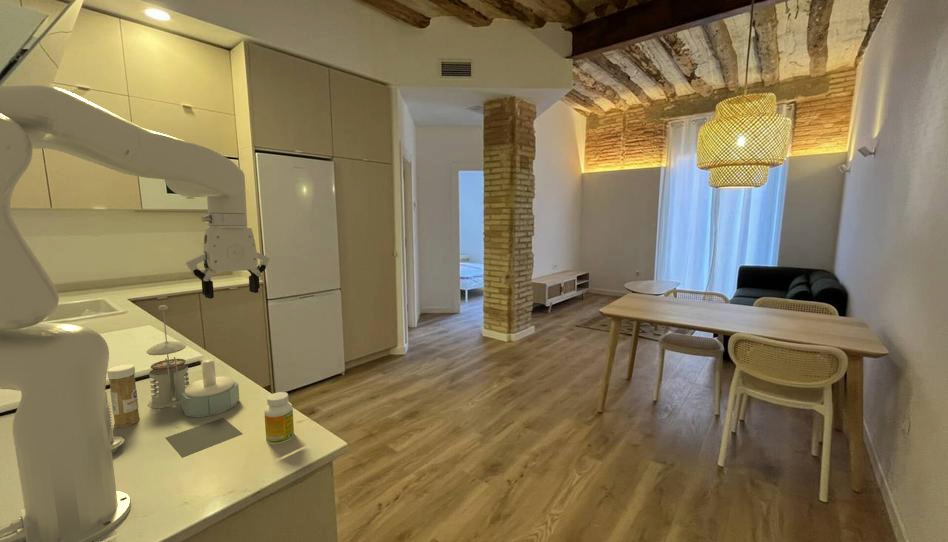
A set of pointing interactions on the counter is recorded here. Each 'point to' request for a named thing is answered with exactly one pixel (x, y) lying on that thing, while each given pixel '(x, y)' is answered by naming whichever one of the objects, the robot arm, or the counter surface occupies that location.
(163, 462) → the counter surface
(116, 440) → the screw
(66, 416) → the robot arm
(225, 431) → the mat
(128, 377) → the sprinkles bottle
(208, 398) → the bowl
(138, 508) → the counter surface
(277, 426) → the supplement bottle
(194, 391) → the lid
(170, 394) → the french press
